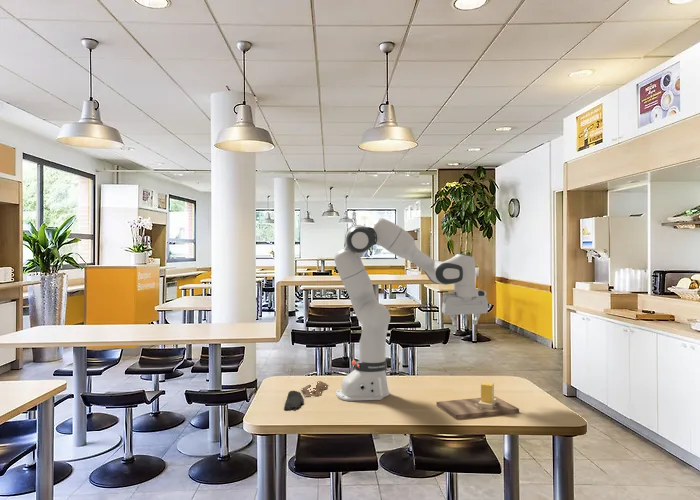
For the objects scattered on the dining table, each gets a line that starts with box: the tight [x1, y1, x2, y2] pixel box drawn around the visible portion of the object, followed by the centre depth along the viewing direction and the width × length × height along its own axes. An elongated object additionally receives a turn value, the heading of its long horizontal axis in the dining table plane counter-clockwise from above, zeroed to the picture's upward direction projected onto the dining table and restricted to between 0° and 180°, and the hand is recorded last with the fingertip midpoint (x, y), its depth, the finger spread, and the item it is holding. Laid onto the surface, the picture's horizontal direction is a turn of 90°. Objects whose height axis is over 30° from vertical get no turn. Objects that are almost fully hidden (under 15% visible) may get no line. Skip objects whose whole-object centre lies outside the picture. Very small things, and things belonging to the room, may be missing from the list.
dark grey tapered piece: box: [283, 390, 305, 412], centre depth 198 cm, size 22×7×3 cm, turn 2°
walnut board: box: [435, 395, 520, 420], centre depth 188 cm, size 26×16×2 cm, turn 106°
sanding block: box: [478, 381, 498, 409], centre depth 188 cm, size 9×5×8 cm, turn 153°
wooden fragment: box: [301, 380, 329, 398], centre depth 216 cm, size 26×11×1 cm, turn 168°
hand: (464, 324), depth 209 cm, fingers open, 8 cm apart
